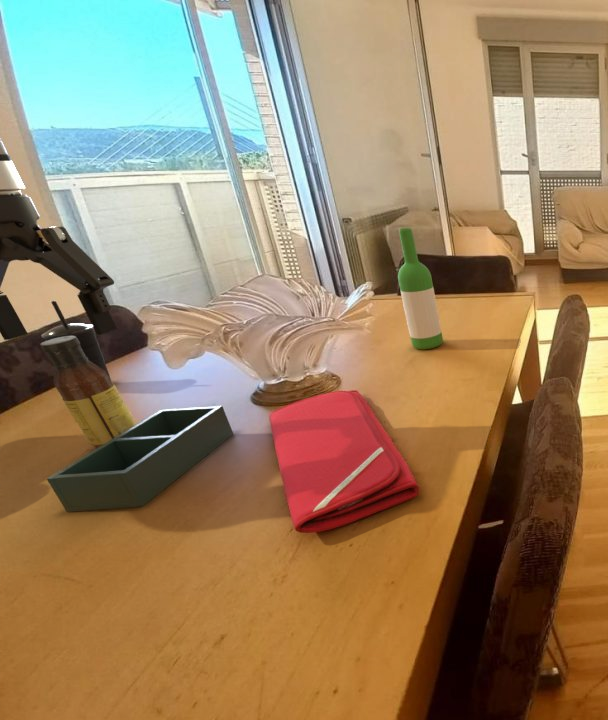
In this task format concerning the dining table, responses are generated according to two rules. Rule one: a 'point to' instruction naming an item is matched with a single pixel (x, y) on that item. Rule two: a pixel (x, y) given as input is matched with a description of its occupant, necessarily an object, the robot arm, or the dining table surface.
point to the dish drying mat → (337, 461)
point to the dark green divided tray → (141, 460)
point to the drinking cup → (83, 335)
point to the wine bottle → (418, 297)
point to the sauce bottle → (87, 392)
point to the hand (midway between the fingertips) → (62, 334)
